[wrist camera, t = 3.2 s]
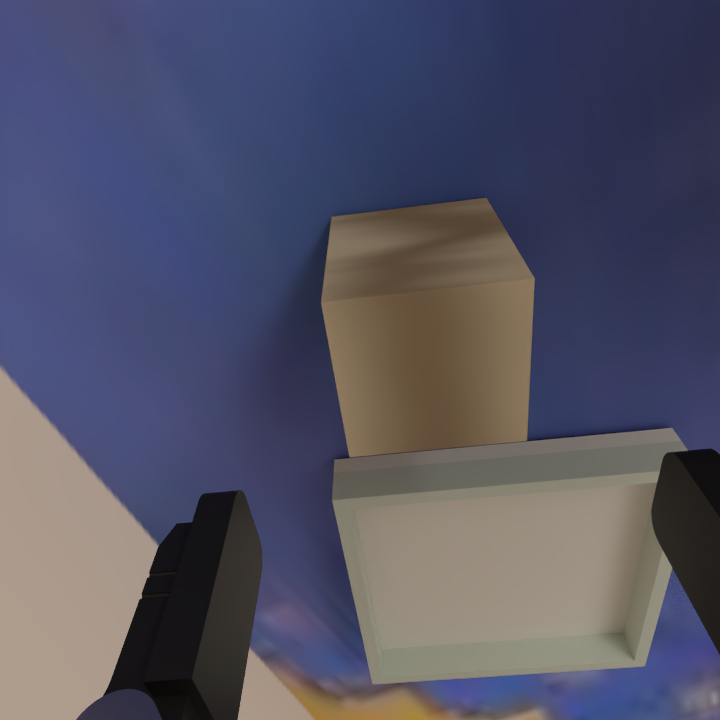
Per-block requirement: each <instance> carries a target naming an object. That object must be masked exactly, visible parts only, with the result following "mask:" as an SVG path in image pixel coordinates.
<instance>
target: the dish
mask: <svg viewBox="0 0 720 720" xmlns="http://www.w3.org/2000/svg"><path fill="white" fill-rule="evenodd" d="M678 451H688V450H687V448H686V447H685V445H684V444H683V443H682V441H681V440H680V438H679V437H678V436H677V434H676V433H675V431H674V430H673V429H672V428H665V429H654V430H644V431H633V432H622V433H612V434H601V435H590V436H580V437H569V438H558V439H548V440H537V441H526V442H516V443H505V444H495V445H484V446H473V447H463V448H452V449H441V450H431V451H420V452H409V453H399V454H388V455H377V456H367V457H356V458H345V459H335V460H334V475H333V493H332V502H333V507H334V511H335V516H336V520H337V525H338V529H339V534H340V538H341V543H342V548H343V552H344V557H345V561H346V566H347V570H348V575H349V579H350V584H351V589H352V593H353V598H354V602H355V607H356V611H357V616H358V620H359V625H360V630H361V634H362V639H363V643H364V648H365V652H366V657H367V662H368V666H369V671H370V675H371V680H372V684H385V683H401V682H416V681H431V680H446V679H461V678H476V677H491V676H507V675H522V674H537V673H552V672H567V671H582V670H597V669H613V668H628V667H643V666H645V664H646V660H647V657H648V653H649V650H650V646H651V642H652V639H653V635H654V632H655V628H656V624H657V621H658V617H659V614H660V610H661V606H662V603H663V599H664V596H665V592H666V588H667V585H668V581H669V578H670V574H671V570H672V566H671V564H670V563H669V561H668V559H667V557H666V555H665V553H664V552H663V550H662V548H661V546H660V544H659V542H658V540H657V538H656V535H655V532H654V529H653V525H652V518H651V508H652V503H653V499H654V495H655V490H656V486H657V481H658V477H659V473H660V468H661V464H662V460H663V457H664V455H665V454H666V453H668V452H678Z"/></svg>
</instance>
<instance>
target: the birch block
mask: <svg viewBox="0 0 720 720" xmlns="http://www.w3.org/2000/svg"><path fill="white" fill-rule="evenodd" d="M534 283H535V278H534V276H533V275H532V273H531V271H530V270H529V268H528V266H527V265H526V263H525V261H524V260H523V258H522V256H521V255H520V253H519V251H518V250H517V248H516V246H515V245H514V243H513V241H512V240H511V238H510V236H509V235H508V233H507V231H506V230H505V228H504V226H503V225H502V223H501V221H500V220H499V218H498V216H497V215H496V213H495V211H494V210H493V208H492V206H491V205H490V203H489V201H488V200H487V198H480V199H472V200H464V201H455V202H447V203H439V204H431V205H423V206H415V207H407V208H399V209H390V210H382V211H374V212H366V213H358V214H350V215H342V216H333V217H332V218H331V226H330V234H329V242H328V250H327V258H326V266H325V274H324V282H323V290H322V298H321V305H322V311H323V316H324V322H325V327H326V332H327V338H328V343H329V349H330V354H331V360H332V365H333V371H334V376H335V381H336V387H337V392H338V398H339V403H340V409H341V414H342V420H343V425H344V430H345V436H346V441H347V447H348V452H349V457H359V456H370V455H381V454H391V453H402V452H413V451H424V450H434V449H445V448H456V447H466V446H477V445H488V444H499V443H509V442H520V441H527V429H528V408H529V387H530V366H531V345H532V324H533V304H534Z"/></svg>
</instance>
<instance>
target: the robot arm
mask: <svg viewBox="0 0 720 720" xmlns="http://www.w3.org/2000/svg"><path fill="white" fill-rule="evenodd" d="M651 518H652V525H653V529H654V532H655V535H656V538H657V540H658V542H659V544H660V546H661V548H662V550H663V552H664V553H665V555H666V557H667V559H668V561H669V563H670V564H671V566H672V568H673V570H674V572H675V574H676V575H677V577H678V579H679V581H680V583H681V585H682V586H683V588H684V590H685V592H686V594H687V596H688V597H689V599H690V601H691V603H692V605H693V607H694V608H695V610H696V612H697V614H698V616H699V618H700V619H701V621H702V623H703V625H704V627H705V629H706V630H707V632H708V634H709V636H710V638H711V640H712V641H713V643H714V645H715V647H716V649H717V651H718V652H719V654H720V455H719V454H718V453H717V452H716V451H715V450H713V449H700V450H689V451H678V452H668V453H666V454H665V455H664V457H663V460H662V464H661V468H660V473H659V477H658V481H657V486H656V490H655V495H654V499H653V503H652V508H651ZM261 572H262V549H261V543H260V539H259V536H258V533H257V530H256V527H255V524H254V521H253V518H252V515H251V512H250V509H249V506H248V503H247V500H246V497H245V494H244V493H243V491H241V490H238V491H228V492H217V493H206V494H203V495H202V496H201V497H200V499H199V502H198V505H197V508H196V512H195V515H194V518H193V521H192V522H191V523H179V524H176V525H175V527H174V528H173V529H172V530H171V532H170V533H169V534H168V535H167V537H166V538H165V539H164V540H163V542H162V543H161V544H160V546H159V547H158V549H157V553H156V555H155V558H154V561H153V564H152V566H151V569H150V572H149V573H150V576H149V578H147V580H146V583H145V586H144V589H143V592H142V599H140V600H139V603H138V606H137V608H136V611H135V614H134V617H133V620H132V622H131V626H130V628H129V631H128V634H127V636H126V639H125V642H124V645H123V648H122V650H121V653H120V656H119V659H118V662H117V664H116V668H115V670H114V674H113V676H112V679H111V681H110V683H109V686H108V688H107V690H106V692H105V694H104V695H103V697H101V698H100V699H98V700H97V701H95V702H94V703H93V704H91V705H90V706H89V707H88V708H87V709H86V710H85V711H83V713H81V715H80V716H79V717H78V718H77V720H237V718H238V712H239V707H240V700H241V694H242V688H243V682H244V676H245V670H246V664H247V657H248V651H249V646H250V640H251V633H252V627H253V621H254V615H255V609H256V603H257V597H258V591H259V585H260V579H261Z"/></svg>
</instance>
